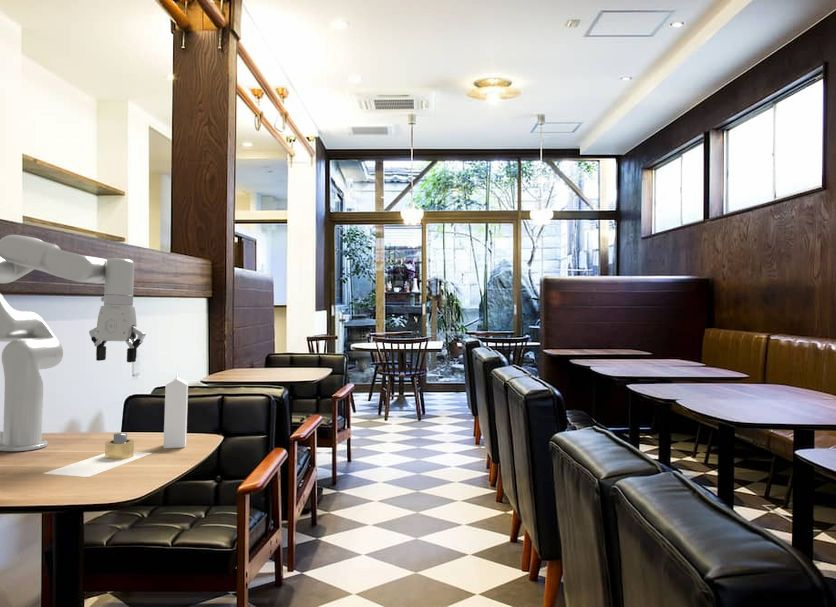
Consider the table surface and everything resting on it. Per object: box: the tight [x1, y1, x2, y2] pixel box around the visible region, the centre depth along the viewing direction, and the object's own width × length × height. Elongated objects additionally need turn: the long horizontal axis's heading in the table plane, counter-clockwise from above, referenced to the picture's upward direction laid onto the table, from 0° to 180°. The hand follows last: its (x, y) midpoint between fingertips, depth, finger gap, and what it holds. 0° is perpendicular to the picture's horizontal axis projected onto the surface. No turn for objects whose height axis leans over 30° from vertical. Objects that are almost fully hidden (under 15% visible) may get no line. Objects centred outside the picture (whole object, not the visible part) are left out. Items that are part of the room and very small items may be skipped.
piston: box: [113, 432, 128, 443], centre depth 167 cm, size 3×3×6 cm
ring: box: [104, 438, 135, 459], centre depth 167 cm, size 7×7×4 cm
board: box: [42, 451, 153, 478], centre depth 160 cm, size 12×26×2 cm, turn 170°
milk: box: [163, 372, 189, 449], centre depth 188 cm, size 6×6×22 cm
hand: (116, 361), depth 179 cm, fingers open, 9 cm apart
